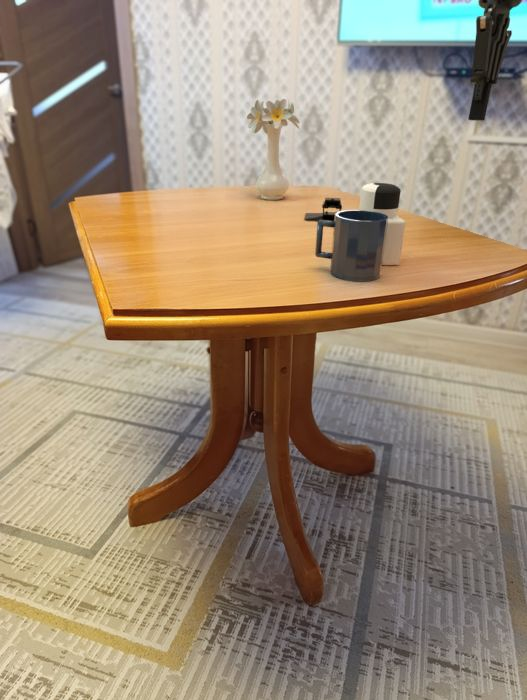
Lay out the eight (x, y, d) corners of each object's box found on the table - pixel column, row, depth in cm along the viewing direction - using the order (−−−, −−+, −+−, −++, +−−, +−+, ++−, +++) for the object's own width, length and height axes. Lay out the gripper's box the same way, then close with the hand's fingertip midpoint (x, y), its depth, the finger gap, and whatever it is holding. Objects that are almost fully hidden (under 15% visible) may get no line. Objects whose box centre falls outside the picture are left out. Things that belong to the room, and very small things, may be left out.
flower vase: (271, 190, 153) (273, 98, 141) (307, 201, 139) (313, 99, 127) (233, 194, 146) (232, 97, 135) (267, 205, 132) (269, 98, 121)
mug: (384, 270, 86) (392, 213, 82) (374, 284, 79) (382, 223, 75) (321, 261, 90) (325, 206, 86) (306, 274, 83) (310, 215, 79)
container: (387, 253, 95) (397, 180, 89) (399, 265, 88) (411, 188, 82) (346, 253, 95) (353, 180, 89) (356, 265, 88) (364, 188, 82)
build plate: (304, 221, 118) (305, 200, 116) (305, 214, 125) (306, 195, 123) (358, 223, 117) (360, 202, 115) (356, 216, 123) (358, 196, 121)
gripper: (494, -7, 101) (469, 123, 109) (470, -28, 91) (445, 116, 99) (535, -13, 96) (506, 123, 104) (514, -36, 87) (483, 116, 95)
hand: (476, 119), depth 102 cm, fingers closed
